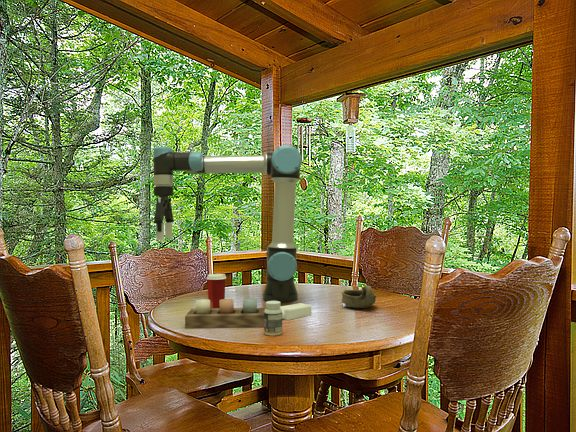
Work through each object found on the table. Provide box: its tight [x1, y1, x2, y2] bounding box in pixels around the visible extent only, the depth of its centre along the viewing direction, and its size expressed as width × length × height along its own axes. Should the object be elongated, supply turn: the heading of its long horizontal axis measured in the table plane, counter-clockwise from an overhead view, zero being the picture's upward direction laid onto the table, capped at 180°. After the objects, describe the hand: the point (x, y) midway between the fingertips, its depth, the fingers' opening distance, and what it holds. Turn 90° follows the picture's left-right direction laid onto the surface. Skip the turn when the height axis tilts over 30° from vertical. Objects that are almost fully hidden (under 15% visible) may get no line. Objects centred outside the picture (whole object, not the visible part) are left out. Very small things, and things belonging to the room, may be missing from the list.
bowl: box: [341, 285, 377, 309], centre depth 179 cm, size 14×18×10 cm
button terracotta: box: [219, 298, 235, 314], centre depth 157 cm, size 5×5×4 cm
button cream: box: [195, 298, 210, 314], centre depth 156 cm, size 5×5×4 cm
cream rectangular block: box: [280, 302, 312, 321], centre depth 166 cm, size 6×13×4 cm, turn 132°
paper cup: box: [205, 273, 227, 308], centre depth 176 cm, size 8×8×14 cm
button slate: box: [242, 298, 258, 313], centre depth 157 cm, size 5×5×4 cm
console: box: [184, 307, 266, 329], centre depth 157 cm, size 26×12×4 cm, turn 92°
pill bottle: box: [263, 301, 283, 337], centre depth 143 cm, size 6×6×10 cm
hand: (164, 239), depth 183 cm, fingers open, 13 cm apart
